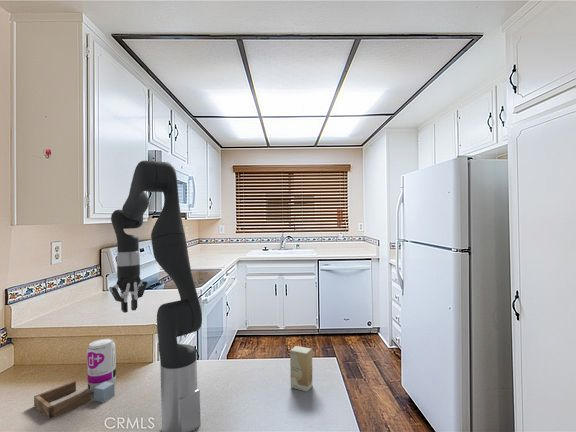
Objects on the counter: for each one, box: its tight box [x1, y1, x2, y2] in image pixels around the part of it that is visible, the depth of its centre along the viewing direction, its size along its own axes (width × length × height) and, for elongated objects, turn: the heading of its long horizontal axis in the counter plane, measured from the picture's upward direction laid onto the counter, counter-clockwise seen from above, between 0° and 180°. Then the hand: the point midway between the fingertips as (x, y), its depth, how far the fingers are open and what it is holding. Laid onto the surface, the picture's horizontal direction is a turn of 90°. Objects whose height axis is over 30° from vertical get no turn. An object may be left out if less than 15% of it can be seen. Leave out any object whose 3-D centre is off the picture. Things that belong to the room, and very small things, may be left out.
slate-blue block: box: [93, 382, 116, 403], centre depth 100 cm, size 4×4×4 cm
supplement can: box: [86, 338, 117, 393], centre depth 108 cm, size 8×8×15 cm
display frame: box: [33, 380, 92, 420], centre depth 98 cm, size 12×11×3 cm
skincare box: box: [289, 345, 313, 393], centre depth 103 cm, size 6×4×12 cm
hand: (129, 310), depth 116 cm, fingers open, 2 cm apart
